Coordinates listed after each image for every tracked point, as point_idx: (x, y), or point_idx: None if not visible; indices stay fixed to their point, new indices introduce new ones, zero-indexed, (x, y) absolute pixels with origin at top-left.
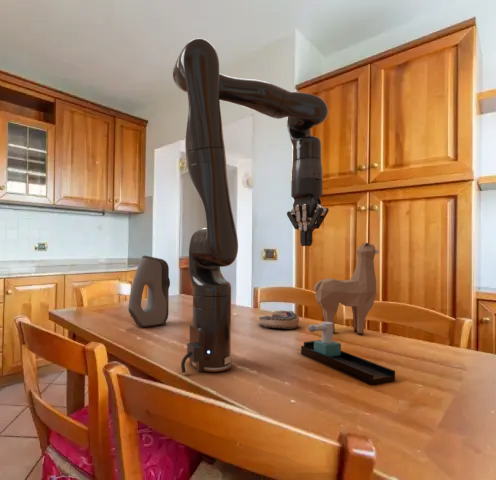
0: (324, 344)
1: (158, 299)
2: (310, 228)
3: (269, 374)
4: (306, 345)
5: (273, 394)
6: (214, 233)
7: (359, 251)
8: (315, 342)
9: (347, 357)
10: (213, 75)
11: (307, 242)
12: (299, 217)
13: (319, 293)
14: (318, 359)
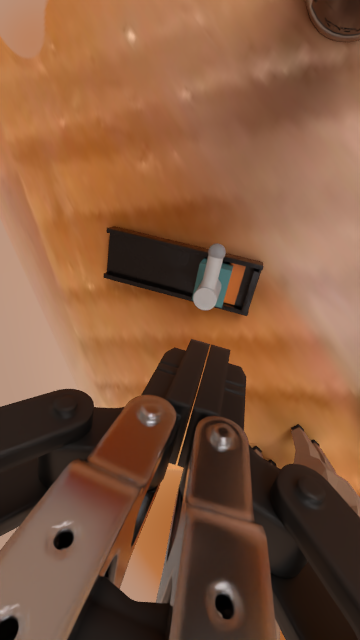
0: (205, 267)
1: None
2: (94, 411)
3: (230, 94)
4: (253, 271)
5: (163, 18)
6: None
7: None
8: (227, 269)
9: (184, 292)
10: None
11: (171, 350)
12: (188, 586)
13: (339, 493)
14: None
